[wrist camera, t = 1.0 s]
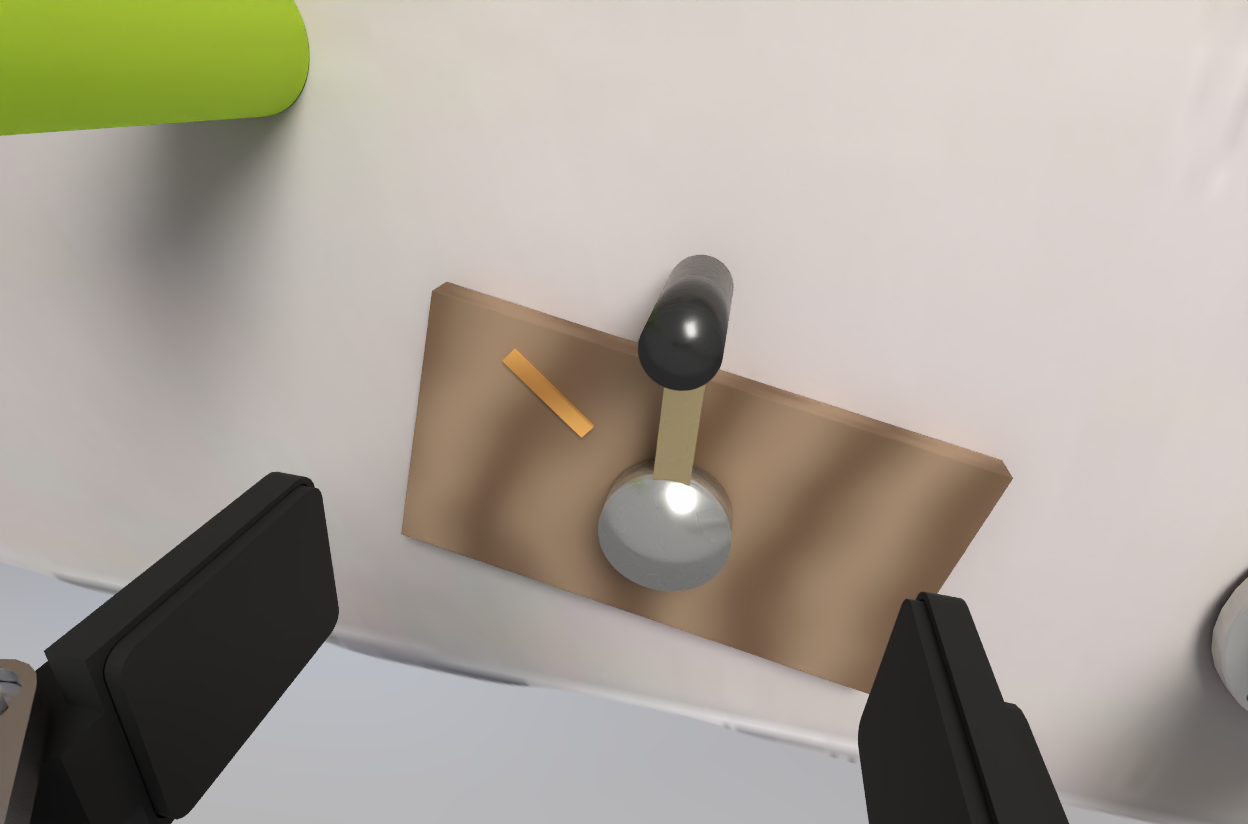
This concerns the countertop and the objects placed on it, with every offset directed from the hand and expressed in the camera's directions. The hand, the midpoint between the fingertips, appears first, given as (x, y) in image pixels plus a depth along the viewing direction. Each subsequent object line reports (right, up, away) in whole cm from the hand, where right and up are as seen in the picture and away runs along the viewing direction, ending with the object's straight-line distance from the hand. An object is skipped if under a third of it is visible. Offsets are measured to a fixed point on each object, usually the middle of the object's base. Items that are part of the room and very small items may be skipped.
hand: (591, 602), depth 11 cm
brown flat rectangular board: (+3, -1, +23) cm, 23 cm away
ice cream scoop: (+3, +2, +19) cm, 19 cm away
